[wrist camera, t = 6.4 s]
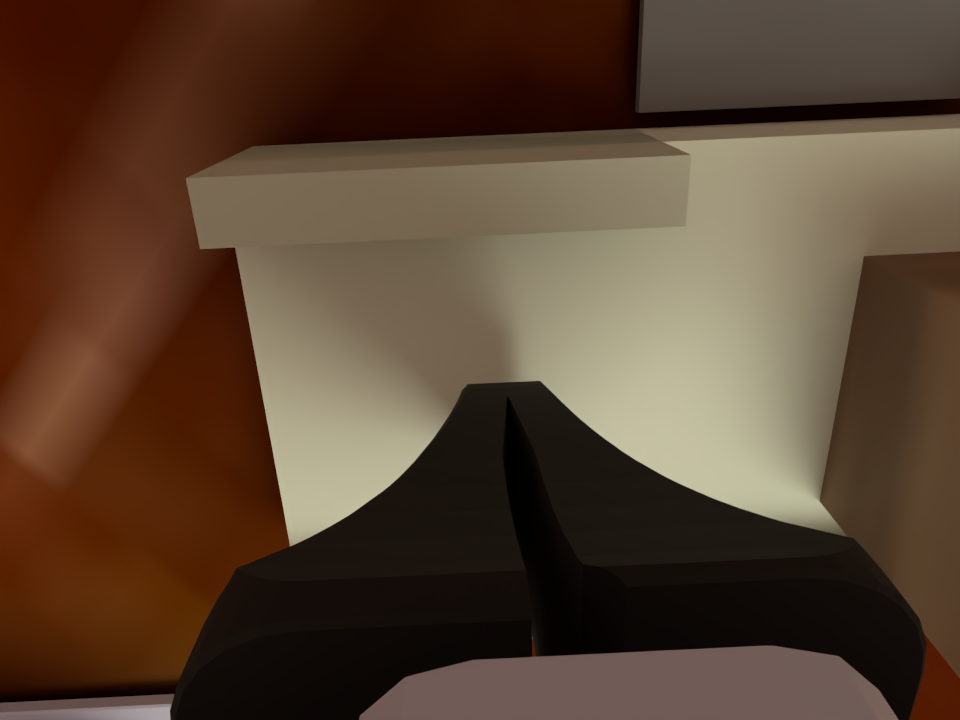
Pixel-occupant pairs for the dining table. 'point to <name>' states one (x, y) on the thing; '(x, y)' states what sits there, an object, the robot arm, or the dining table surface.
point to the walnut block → (904, 435)
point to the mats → (795, 53)
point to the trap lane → (573, 291)
